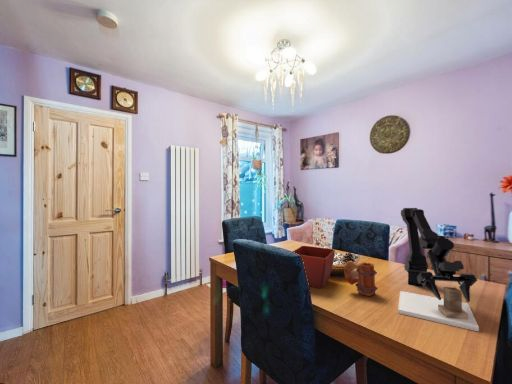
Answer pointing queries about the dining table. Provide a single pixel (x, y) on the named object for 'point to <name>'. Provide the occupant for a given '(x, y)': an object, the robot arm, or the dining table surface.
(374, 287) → the mug
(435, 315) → the board
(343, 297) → the dining table surface
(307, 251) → the plant pot
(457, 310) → the brown pedestal block
